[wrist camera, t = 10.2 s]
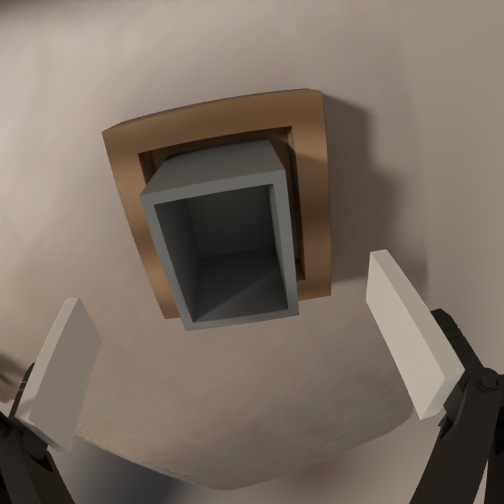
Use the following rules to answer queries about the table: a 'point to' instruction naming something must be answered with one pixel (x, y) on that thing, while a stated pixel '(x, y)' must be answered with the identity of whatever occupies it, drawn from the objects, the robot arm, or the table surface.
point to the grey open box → (224, 234)
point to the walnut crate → (223, 132)
